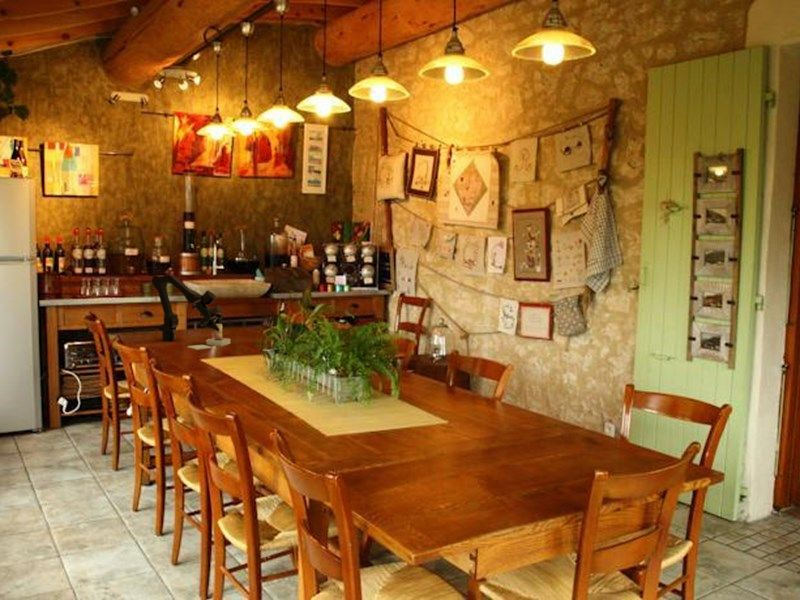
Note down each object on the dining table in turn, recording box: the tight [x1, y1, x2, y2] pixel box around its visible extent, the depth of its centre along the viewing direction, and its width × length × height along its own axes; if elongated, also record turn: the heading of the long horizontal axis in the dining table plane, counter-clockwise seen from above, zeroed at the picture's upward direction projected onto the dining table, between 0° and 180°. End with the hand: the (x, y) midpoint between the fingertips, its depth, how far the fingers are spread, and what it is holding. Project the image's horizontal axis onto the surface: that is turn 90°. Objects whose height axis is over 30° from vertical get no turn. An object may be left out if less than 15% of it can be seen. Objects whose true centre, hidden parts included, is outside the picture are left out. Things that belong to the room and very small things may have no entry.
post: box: [214, 323, 223, 340], centre depth 456 cm, size 4×4×10 cm
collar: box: [205, 337, 231, 347], centre depth 457 cm, size 10×10×3 cm
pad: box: [186, 344, 213, 351], centre depth 443 cm, size 10×10×1 cm
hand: (220, 330), depth 455 cm, fingers closed on post, 4 cm apart
